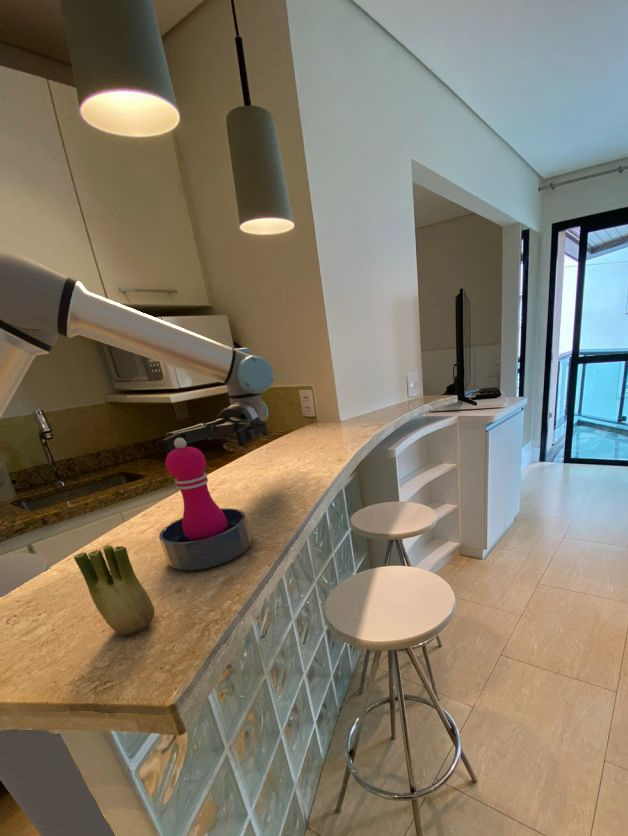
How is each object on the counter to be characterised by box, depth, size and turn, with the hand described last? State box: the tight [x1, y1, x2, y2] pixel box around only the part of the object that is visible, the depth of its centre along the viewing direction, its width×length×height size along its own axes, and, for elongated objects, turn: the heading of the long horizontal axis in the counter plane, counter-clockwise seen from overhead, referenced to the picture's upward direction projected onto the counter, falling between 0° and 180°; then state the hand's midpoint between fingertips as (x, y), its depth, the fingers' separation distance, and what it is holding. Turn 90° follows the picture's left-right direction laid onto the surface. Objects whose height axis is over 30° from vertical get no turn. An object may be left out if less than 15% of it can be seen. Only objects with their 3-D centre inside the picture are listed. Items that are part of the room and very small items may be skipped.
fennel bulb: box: [73, 545, 156, 636], centre depth 52 cm, size 6×5×12 cm
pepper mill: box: [165, 438, 228, 541], centre depth 69 cm, size 7×7×20 cm
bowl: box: [158, 507, 253, 571], centre depth 72 cm, size 14×14×6 cm
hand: (202, 443), depth 75 cm, fingers open, 13 cm apart
